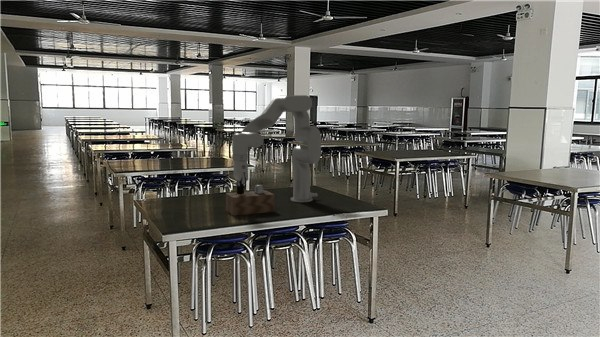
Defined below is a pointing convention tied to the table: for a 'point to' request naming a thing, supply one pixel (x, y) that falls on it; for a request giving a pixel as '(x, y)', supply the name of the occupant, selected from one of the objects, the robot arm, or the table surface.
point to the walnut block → (249, 203)
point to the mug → (236, 191)
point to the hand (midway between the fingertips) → (240, 193)
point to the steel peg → (258, 189)
